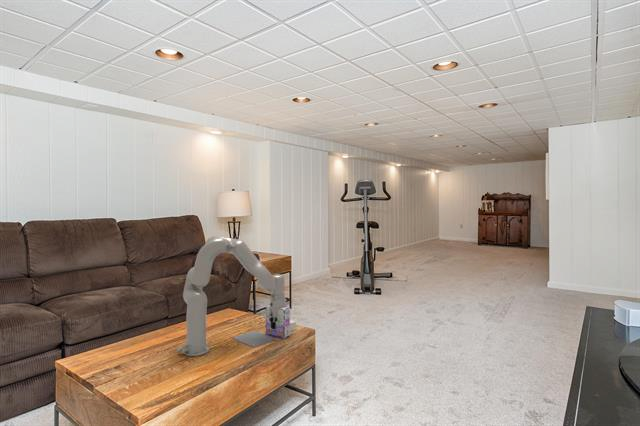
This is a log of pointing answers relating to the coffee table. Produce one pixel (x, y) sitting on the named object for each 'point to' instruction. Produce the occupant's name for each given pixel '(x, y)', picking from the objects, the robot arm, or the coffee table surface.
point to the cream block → (292, 325)
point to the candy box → (279, 323)
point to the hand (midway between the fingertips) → (277, 326)
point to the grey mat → (254, 338)
